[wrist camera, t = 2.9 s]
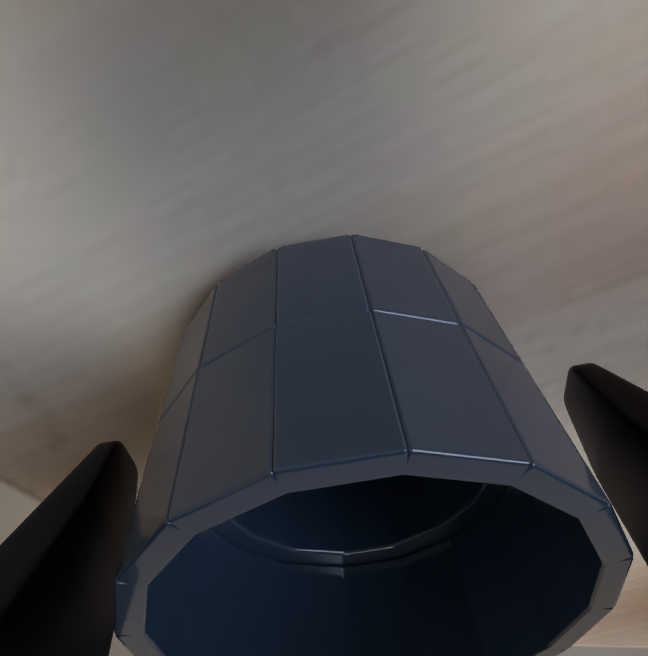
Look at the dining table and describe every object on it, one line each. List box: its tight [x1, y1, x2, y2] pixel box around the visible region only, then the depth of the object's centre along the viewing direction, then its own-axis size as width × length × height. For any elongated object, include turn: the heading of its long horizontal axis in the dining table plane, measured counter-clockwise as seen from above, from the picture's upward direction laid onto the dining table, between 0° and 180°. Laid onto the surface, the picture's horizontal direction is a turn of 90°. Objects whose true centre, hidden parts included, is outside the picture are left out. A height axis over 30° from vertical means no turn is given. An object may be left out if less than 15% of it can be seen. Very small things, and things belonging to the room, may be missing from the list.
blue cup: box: [114, 235, 633, 656], centre depth 9 cm, size 7×7×6 cm
